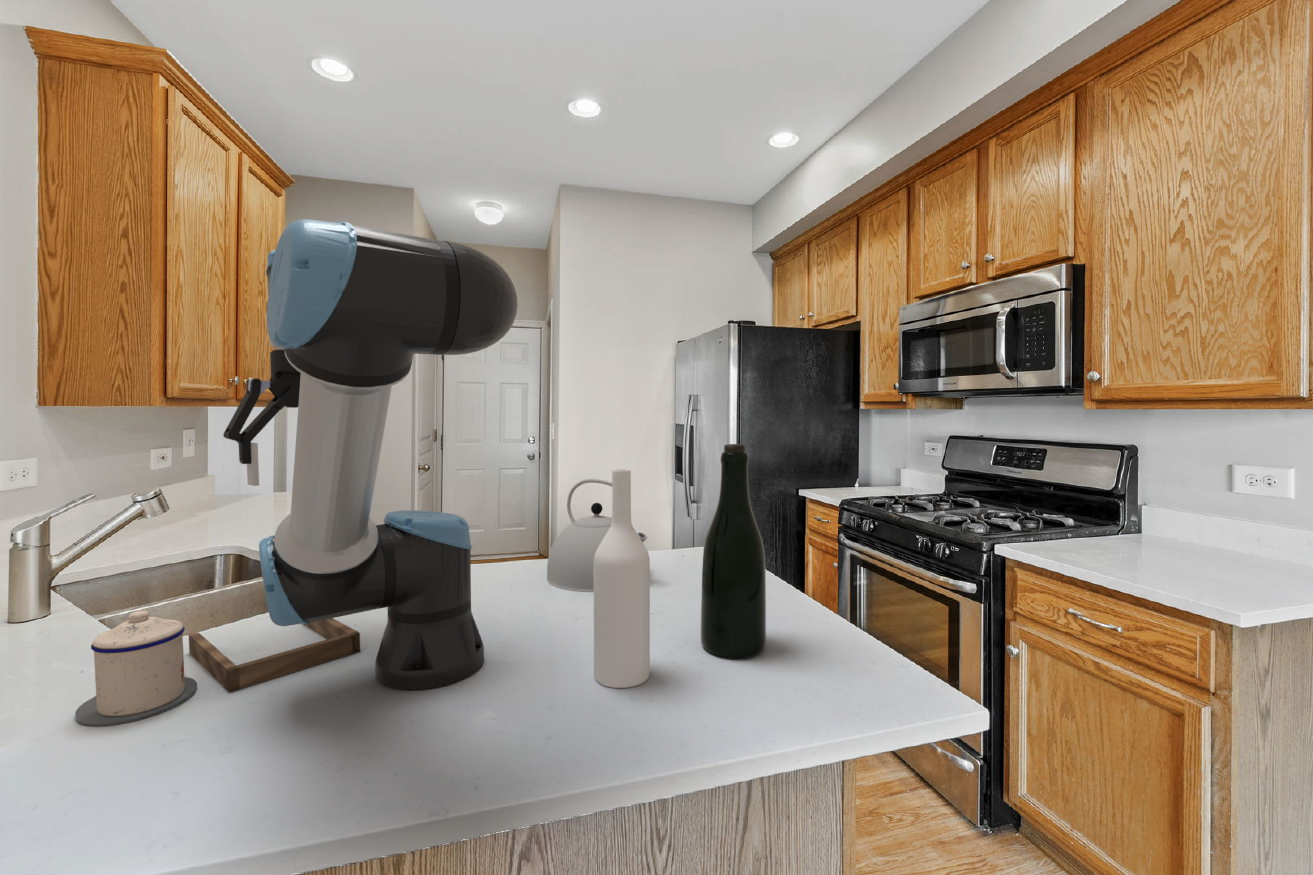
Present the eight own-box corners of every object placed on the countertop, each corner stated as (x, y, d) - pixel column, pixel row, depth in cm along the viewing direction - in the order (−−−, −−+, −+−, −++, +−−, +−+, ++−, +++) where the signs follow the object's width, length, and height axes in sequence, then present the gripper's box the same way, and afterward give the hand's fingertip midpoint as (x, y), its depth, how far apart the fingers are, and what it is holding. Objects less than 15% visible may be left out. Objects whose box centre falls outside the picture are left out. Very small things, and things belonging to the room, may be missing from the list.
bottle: (638, 659, 90) (638, 465, 89) (657, 682, 83) (658, 471, 81) (587, 668, 87) (586, 467, 86) (602, 692, 80) (601, 473, 78)
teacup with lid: (203, 689, 79) (200, 604, 79) (125, 724, 71) (120, 629, 70) (143, 676, 83) (139, 595, 82) (61, 708, 74) (56, 618, 74)
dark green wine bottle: (687, 646, 95) (688, 444, 94) (727, 629, 103) (728, 441, 101) (739, 666, 88) (741, 447, 86) (778, 646, 95) (781, 444, 94)
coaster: (208, 698, 78) (208, 694, 78) (83, 737, 69) (83, 732, 69) (184, 672, 86) (184, 668, 86) (69, 704, 77) (68, 700, 77)
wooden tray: (360, 651, 93) (359, 632, 93) (229, 692, 80) (228, 670, 80) (309, 621, 106) (308, 605, 106) (189, 652, 93) (188, 634, 92)
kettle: (673, 574, 137) (673, 478, 136) (615, 601, 118) (615, 489, 117) (589, 559, 150) (589, 471, 149) (525, 581, 131) (524, 481, 130)
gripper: (365, 356, 107) (368, 472, 108) (195, 345, 88) (201, 486, 89) (385, 354, 102) (387, 475, 103) (210, 342, 83) (216, 491, 84)
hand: (301, 480), depth 96 cm, fingers open, 13 cm apart
